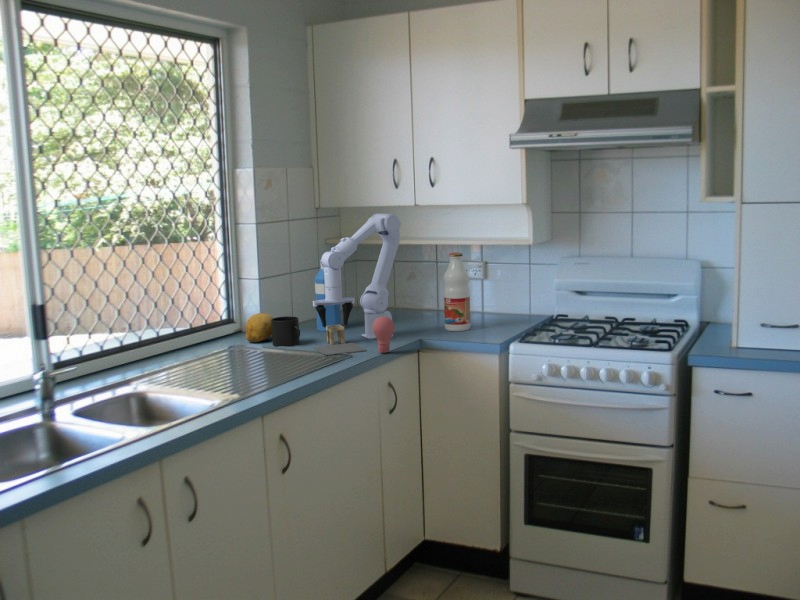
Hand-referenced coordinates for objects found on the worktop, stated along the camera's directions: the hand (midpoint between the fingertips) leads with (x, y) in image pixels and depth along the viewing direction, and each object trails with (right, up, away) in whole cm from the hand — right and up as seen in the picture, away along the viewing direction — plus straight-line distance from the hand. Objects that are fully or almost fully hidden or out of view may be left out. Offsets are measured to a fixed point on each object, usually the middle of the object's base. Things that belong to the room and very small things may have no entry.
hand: (334, 325), depth 294 cm
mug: (-16, -7, +2) cm, 18 cm away
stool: (0, -6, +1) cm, 6 cm away
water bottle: (-4, -2, +29) cm, 29 cm away
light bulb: (+17, -9, -18) cm, 26 cm away
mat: (+2, -8, -10) cm, 13 cm away
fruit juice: (+44, -2, +19) cm, 48 cm away
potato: (-27, -6, +11) cm, 30 cm away
